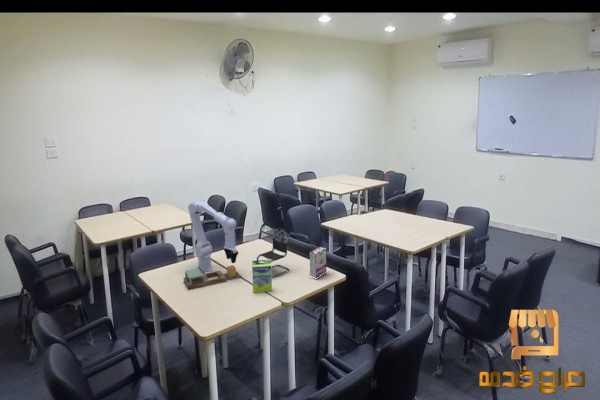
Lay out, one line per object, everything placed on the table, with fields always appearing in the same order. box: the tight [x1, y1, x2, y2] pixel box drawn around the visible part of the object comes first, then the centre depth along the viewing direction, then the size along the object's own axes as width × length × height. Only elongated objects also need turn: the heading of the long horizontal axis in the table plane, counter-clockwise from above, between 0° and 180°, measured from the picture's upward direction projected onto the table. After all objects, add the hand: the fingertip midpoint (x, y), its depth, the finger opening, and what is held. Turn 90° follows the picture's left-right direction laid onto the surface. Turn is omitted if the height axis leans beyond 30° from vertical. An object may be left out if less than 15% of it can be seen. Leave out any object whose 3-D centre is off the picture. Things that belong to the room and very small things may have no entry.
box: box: [251, 259, 273, 293], centre depth 215 cm, size 10×4×17 cm, turn 100°
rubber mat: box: [223, 270, 242, 281], centre depth 236 cm, size 9×9×1 cm
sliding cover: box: [184, 264, 206, 285], centre depth 225 cm, size 12×9×6 cm
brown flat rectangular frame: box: [183, 270, 227, 291], centre depth 228 cm, size 12×22×2 cm, turn 118°
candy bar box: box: [309, 246, 327, 278], centre depth 234 cm, size 11×5×16 cm, turn 143°
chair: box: [256, 232, 291, 278], centre depth 239 cm, size 13×17×22 cm
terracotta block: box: [226, 264, 237, 277], centre depth 235 cm, size 4×4×6 cm
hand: (231, 260), depth 234 cm, fingers open, 7 cm apart
